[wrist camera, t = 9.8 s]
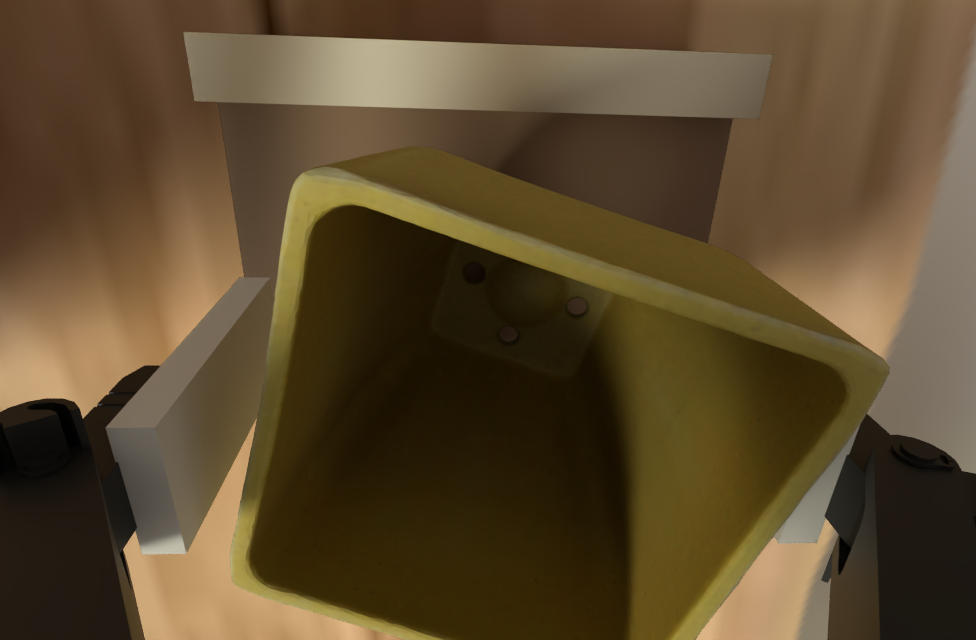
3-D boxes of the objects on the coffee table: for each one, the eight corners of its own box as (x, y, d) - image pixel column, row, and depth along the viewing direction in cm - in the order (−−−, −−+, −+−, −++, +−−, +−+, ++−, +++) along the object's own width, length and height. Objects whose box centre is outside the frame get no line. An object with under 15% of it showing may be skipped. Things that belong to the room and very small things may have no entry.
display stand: (300, 409, 24) (261, 503, 20) (255, 34, 19) (183, 31, 14) (632, 408, 25) (675, 498, 20) (691, 51, 19) (773, 54, 14)
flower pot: (604, 444, 20) (640, 722, 12) (356, 363, 20) (219, 593, 11) (731, 201, 16) (912, 367, 8) (426, 93, 16) (292, 153, 8)
